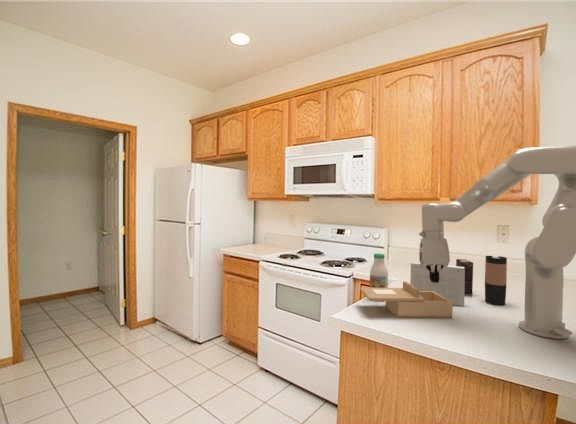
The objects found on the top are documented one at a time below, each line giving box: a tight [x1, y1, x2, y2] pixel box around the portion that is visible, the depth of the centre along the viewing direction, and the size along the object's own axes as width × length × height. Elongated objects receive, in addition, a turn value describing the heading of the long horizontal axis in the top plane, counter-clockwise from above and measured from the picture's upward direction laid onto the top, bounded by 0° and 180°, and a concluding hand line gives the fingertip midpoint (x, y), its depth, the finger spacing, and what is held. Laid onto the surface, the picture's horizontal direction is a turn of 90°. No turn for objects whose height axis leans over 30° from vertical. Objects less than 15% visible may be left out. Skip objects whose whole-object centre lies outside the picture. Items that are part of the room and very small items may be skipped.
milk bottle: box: [369, 253, 389, 288], centre depth 131 cm, size 8×8×20 cm
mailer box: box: [384, 291, 454, 319], centre depth 116 cm, size 14×20×6 cm
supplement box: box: [455, 258, 474, 297], centre depth 141 cm, size 9×5×16 cm, turn 168°
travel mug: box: [484, 255, 508, 307], centre depth 127 cm, size 8×8×20 cm
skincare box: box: [409, 261, 465, 307], centre depth 130 cm, size 21×5×16 cm, turn 57°
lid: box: [359, 280, 425, 302], centre depth 115 cm, size 14×20×4 cm
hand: (434, 281), depth 115 cm, fingers closed
